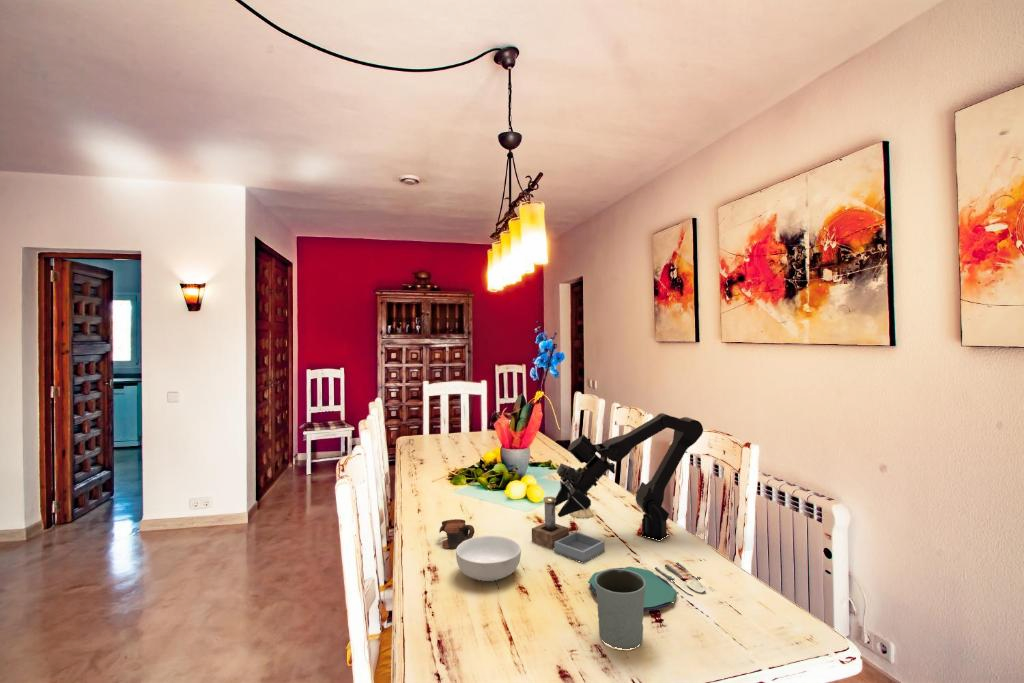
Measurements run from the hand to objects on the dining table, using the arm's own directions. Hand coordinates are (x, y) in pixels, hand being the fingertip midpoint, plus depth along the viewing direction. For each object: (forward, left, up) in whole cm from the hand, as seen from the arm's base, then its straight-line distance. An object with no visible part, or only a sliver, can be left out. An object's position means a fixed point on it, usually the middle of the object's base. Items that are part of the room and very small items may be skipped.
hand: (555, 510), depth 148 cm
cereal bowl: (-1, +28, -9) cm, 30 cm away
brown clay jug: (+21, +22, -10) cm, 32 cm away
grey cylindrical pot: (-41, +28, -9) cm, 51 cm away
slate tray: (-10, +1, -9) cm, 14 cm away
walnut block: (+1, +1, -9) cm, 9 cm away
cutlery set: (-35, +7, -10) cm, 37 cm away
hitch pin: (+1, +1, -9) cm, 9 cm away
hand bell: (+8, -24, -9) cm, 27 cm away
